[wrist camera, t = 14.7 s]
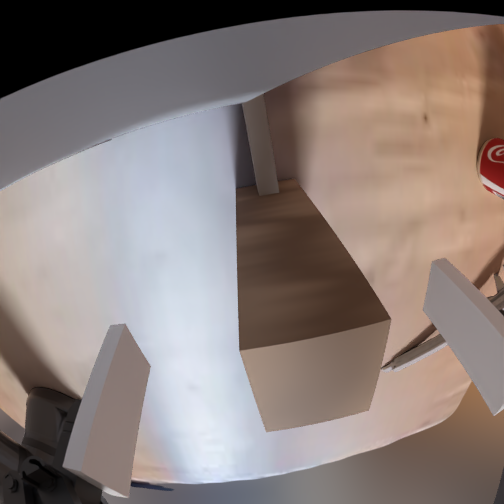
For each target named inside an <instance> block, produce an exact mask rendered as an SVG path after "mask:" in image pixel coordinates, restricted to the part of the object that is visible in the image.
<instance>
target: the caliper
mask: <svg viewBox="0 0 504 504" xmlns="http://www.w3.org/2000/svg"><path fill="white" fill-rule="evenodd" d="M503 268H504V266H503ZM494 278H495V283H496V288H497V294H496V295H495V296H490V297H487V299H488V300H489V301H490V302H491V303H492V304H493V305H494V306H495V307H496V308H497V309H498V311H499V310H501V309H502V310H504V283H503V281H502V280H501V278H500V276H498V274H497V273H496V274H495V275H494ZM447 345H448V344H447V342H446V341H445V339H444V338H443V337H442V335H441V334H439V335H437V336H436V337H434V338H432V339H430V340H428V341H427V342H425V343H423V344H421V345H419V346H417V347H415V348H413V349H411V350H410V351H408V352H406V353H404V354H402V355H400V356H399V357H397V358H396V359H394V360H393V361H391V362H390V364H389V365H387V366H384V367H383V368H381V370H383V371H384V372H389V371H391V370H393V371H394V372H397V371H399V370H401V369H404V368H406V367H408V366H410V365H412V364H414V363H416V362H418V361H420V360H422V359H424V358H426V357H427V356H429V355H431V354H433V353H435V352H437V351H438V350H440V349H442V348H444V347H446V346H447Z"/></svg>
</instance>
